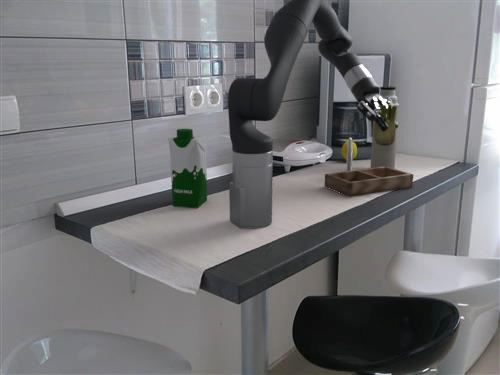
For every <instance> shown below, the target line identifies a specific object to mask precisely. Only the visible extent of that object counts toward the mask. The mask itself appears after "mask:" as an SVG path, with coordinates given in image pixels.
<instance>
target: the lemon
mask: <svg viewBox="0 0 500 375" xmlns="http://www.w3.org/2000/svg"><path fill="white" fill-rule="evenodd" d="M348 141H349V140H346V141H345V142H344V143H343V145H342V147H341V155H342V158H343V159H344V160H345V161H347V148H348ZM352 145H353V146H352V147H353V148H352V149H353V150H352V151H353V152H352V160H354V159H355V158H357V157H356V156H357V154H358V148H357V144H356V143H355V142H354V141H352Z"/></svg>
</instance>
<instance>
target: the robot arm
mask: <svg viewBox="0 0 500 375" xmlns="http://www.w3.org/2000/svg"><path fill="white" fill-rule="evenodd" d="M311 24H313V26H314V28H315V31H316V32H317V35H318V36H319V38H320V39H321V40H320V41H319V42H318V46H317V48H318V51H319V53H320V55H321V56H322V58H324V59H325V60H327V61H328V62H329V63H330V64H331V65H333V66H334V67H335V68H336V69H337V70H338V72H339V73H340V75H341V76H342V78H343V80H344V82H345V84H346V86H347V88H348V89H349V90H350V93H351V94H352V95H353V97H354V98H355V100H356V102H357V103H358V104H357V106H356V109H357V110H358V111H359V112H360V113H361V114H362V116H364V117H365V118H366V119H367V120H368V121H370V122H372V121H374V122H376V123H377V124H378V126H379V127H380V129H381V130H382V131H383V132H384V131H386V130H387V129H388V128H389V126H388V125H387V123H386V121H385V120H384V118H383V117H382V116H381V113H380V111H381V110H382V105H387V108H386V113H387V109H388V104H391V105H393V103H392V100H391V99H390V98H389V99H388V100H385V99H384V98H383V97H382V96H381V95H380V91H381V89H380V86H379V85H378V83H377V81H376V80H375V79H374V77H373V76H372V74H371V72H369V70H368V69H367V68H366V67H365V65H364V64H363V62H362V61H361V60H360V58H359V56H358V55H357V53H355V52H347V53H345V52H346V51H348V50H350V48H351V47H352V45H353V38H352V35H351V34H350V32H349V31H347V29H345V28H344V27H343V26H342V25H341V23H340V20H339V17H338V15H337V13H336V12H335V9H334V8H333V7H332V6H331V5H330V4H329V3H327V2H326V1H325V0H290V1H288V2H287V3H285V5H283V6H282V7H280V8H279V9H278V10H277V12H275V13H274V15H273V17H272V18H271V21H270V22H269V25H268V26H267V29H266V31H265V32H264V33H265V34H264V37H263V38H264V39H263V42H264V43H263V44H264V48H265V52H266V54H267V57H268V59H269V62H270V68H269V71H268V73H267V74H266V76H265V77H264V78H257V77H256V78H251V77H243V78H242V77H240V78H239V77H238V78H235V79H234V80H233V81H232V82H231V84H230V86H229V89H228V94H227V111H228V123H229V124H228V125H229V126H228V127H229V129H228V131H229V138H230V141H231V150H232V154H231V156H232V162H231V163H232V181H230V182H229V186H228V188H229V196H228V197H229V221H230V223H232V224H233V225H235V226H237V227H238V228H239V229H244V228H248V229H257V228H264V227H267V226H270V225H271V224H272V223H273V168H274V167H273V157H274V156H273V155H274V154H273V153H274V152H273V151H274V150H273V148H274V145H273V139H272V137H270V136H269V135H267V134H265V133H263V132H261V131H260V130H259V129H258V128H256V126H255V125H254V122H255V121H256V122H269V121H272V120H274V119H275V118H276V116H277V115H278V113H279V111H280V109H281V105H282V102H283V101H284V100H283V99H284V96H285V93H286V89H287V86H288V82H289V79H290V76H291V72H292V70H293V68H294V66H295V63H296V61H297V58H298V55H299V53H300V51H301V49H302V48H303V45H304V42H305V40H306V38H307V36H308V33H309V29H310V27H311ZM343 53H345V54H343ZM378 105H380V108H379V107H378ZM391 110H392V106H391ZM386 116H387V115H386ZM385 119H386V117H385ZM253 121H254V122H253ZM397 127H398V128H399V122H398V123H397V122H396V120H395V129H396V128H397ZM398 128H397V129H398Z"/></svg>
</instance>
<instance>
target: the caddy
mask: <svg viewBox="0 0 500 375" xmlns="http://www.w3.org/2000/svg"><path fill="white" fill-rule="evenodd" d="M413 180H414V174H413V173H411V172H410V173H409V172H407V171H403V170H399V169H397V168H394V169H393V168H390V167H386V166H384V167H376V168H370V167H369V168H362V169H353V170H352V171H345V172H341V171H337V172H331V173H325V174H324V188H326V187H327V188H326V189H328V188H330V189H329V190H331V189H332V190H331V191H333V190H335V191H334V192H336V191H337V192H336V193H338V192H340V193H339V194H341V193H342V194H341V195H343V194H344V195H343V196H345V197H348V196H349V197H348V198H351V197H352V196H353V197H357V196H358V197H359V196H365V195H370V194H371V195H372V194H377V193H378V194H379V193H384V192H390V191H398V190H402V189H403V190H404V189H410V188H413V182H414V181H413Z"/></svg>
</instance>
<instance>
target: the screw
mask: <svg viewBox="0 0 500 375" xmlns="http://www.w3.org/2000/svg"><path fill="white" fill-rule="evenodd" d="M347 141H348V148H347V160H346V164H345V165H346V166H345V167H346V168H342V170H341V171H340V172H345V171H352V170H354V169H353V167H352V166H353V159H352V152H353V151H352V150H353V149H352V148H353V147H352V146H353V145H352V142H353V138H352V137H349V138H348V140H347Z"/></svg>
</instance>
